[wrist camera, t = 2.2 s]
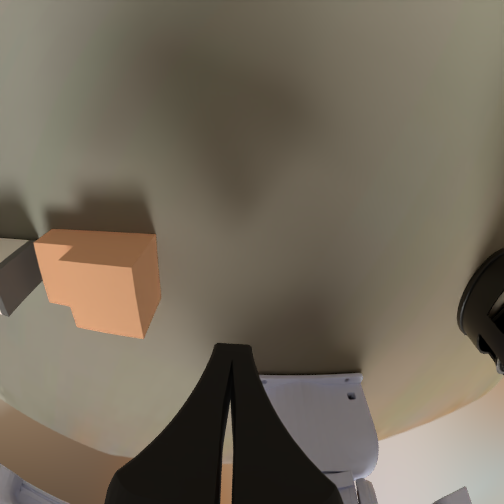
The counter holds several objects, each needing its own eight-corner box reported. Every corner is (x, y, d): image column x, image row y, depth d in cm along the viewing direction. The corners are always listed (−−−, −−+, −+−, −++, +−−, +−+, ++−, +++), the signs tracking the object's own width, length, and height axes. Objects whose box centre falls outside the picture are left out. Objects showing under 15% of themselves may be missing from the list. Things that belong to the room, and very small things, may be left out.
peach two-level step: (156, 232, 16) (131, 267, 12) (162, 295, 18) (143, 338, 14) (53, 227, 16) (16, 255, 12) (65, 283, 18) (36, 317, 14)
